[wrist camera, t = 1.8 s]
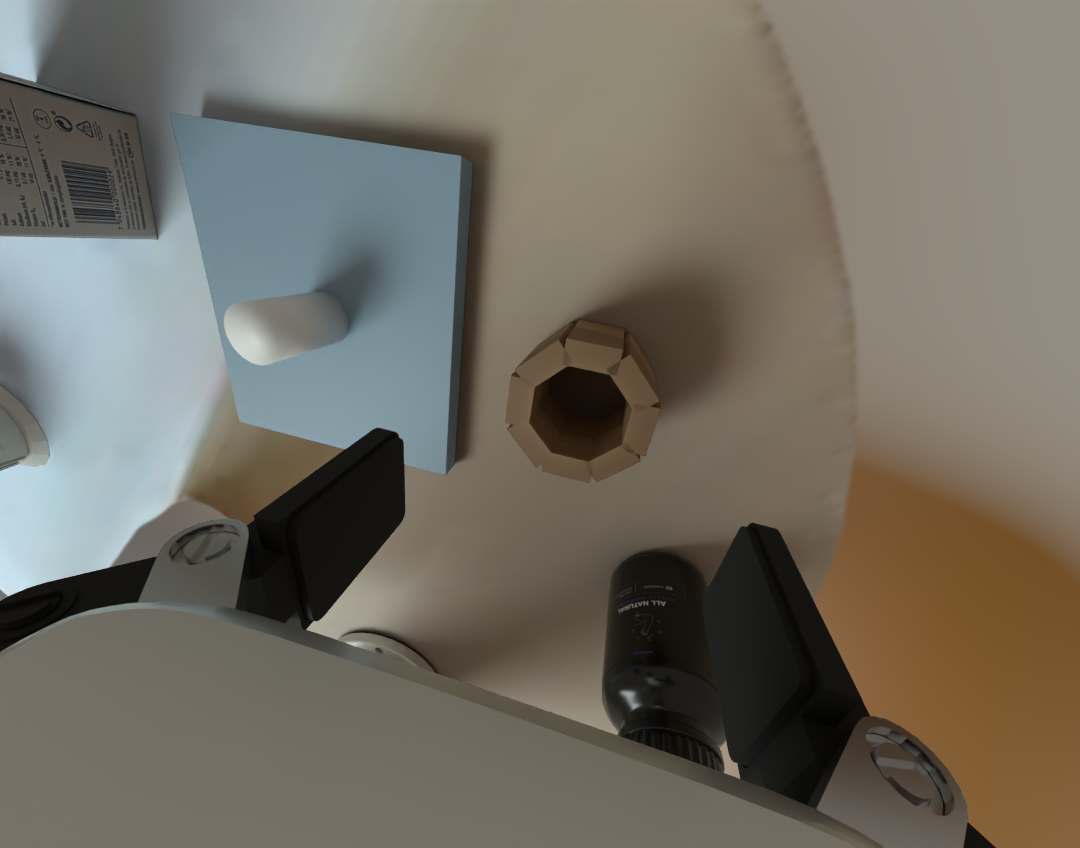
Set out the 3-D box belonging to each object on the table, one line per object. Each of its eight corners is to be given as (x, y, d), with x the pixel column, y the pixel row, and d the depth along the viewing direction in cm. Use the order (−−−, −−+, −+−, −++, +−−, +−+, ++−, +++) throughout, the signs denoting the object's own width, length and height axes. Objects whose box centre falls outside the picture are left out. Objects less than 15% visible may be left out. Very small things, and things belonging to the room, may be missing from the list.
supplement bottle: (641, 532, 26) (649, 729, 15) (728, 579, 26) (796, 807, 15) (592, 590, 29) (571, 787, 19) (670, 632, 29) (693, 851, 19)
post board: (454, 464, 27) (406, 522, 21) (257, 413, 29) (164, 454, 23) (473, 162, 19) (404, 124, 13) (199, 121, 21) (34, 72, 15)
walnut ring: (632, 447, 24) (633, 494, 19) (523, 422, 24) (500, 460, 20) (666, 336, 20) (676, 360, 16) (540, 311, 21) (517, 328, 17)
